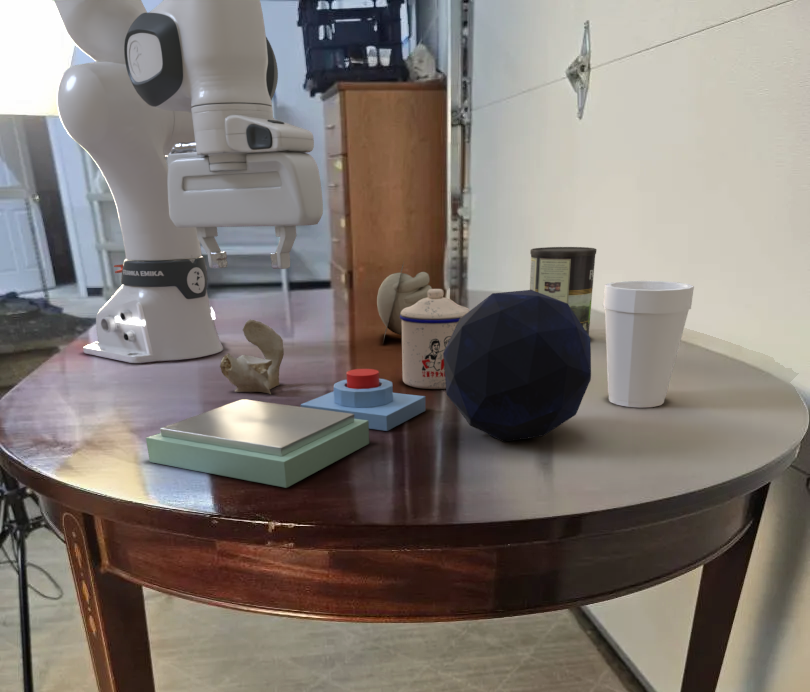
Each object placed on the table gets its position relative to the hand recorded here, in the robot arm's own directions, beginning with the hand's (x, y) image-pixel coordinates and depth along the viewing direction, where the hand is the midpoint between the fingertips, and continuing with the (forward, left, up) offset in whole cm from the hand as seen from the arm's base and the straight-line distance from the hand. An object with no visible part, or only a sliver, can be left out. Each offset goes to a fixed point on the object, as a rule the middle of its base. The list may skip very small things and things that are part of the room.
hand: (249, 268), depth 92 cm
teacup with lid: (+19, +15, -15) cm, 28 cm away
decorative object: (0, +40, -15) cm, 43 cm away
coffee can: (+23, +50, -15) cm, 57 cm away
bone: (0, 0, -15) cm, 15 cm away
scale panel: (+18, -4, -15) cm, 23 cm away
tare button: (+18, -4, -12) cm, 22 cm away
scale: (+16, -20, -15) cm, 29 cm away
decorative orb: (+36, -4, -15) cm, 39 cm away
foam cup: (+44, +15, -15) cm, 49 cm away
